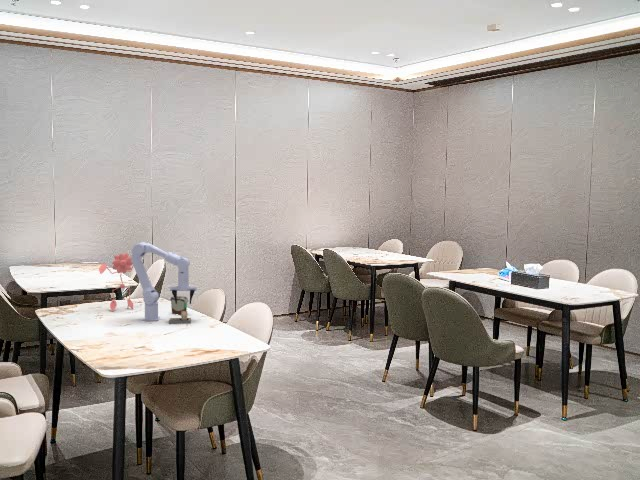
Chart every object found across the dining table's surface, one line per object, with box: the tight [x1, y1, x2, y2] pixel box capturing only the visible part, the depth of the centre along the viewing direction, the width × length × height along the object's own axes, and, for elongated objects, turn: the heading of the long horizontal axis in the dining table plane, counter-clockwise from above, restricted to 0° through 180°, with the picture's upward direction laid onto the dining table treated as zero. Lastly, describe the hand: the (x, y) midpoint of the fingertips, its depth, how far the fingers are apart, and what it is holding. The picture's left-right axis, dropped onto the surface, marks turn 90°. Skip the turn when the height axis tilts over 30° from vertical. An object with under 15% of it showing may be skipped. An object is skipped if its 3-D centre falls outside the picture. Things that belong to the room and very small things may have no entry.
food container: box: [169, 295, 189, 316], centre depth 368 cm, size 12×6×10 cm, turn 58°
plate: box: [168, 317, 192, 325], centre depth 346 cm, size 8×12×2 cm
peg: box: [180, 310, 188, 320], centre depth 346 cm, size 3×3×6 cm
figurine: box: [98, 252, 141, 314], centre depth 372 cm, size 15×26×35 cm, turn 122°
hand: (183, 303), depth 350 cm, fingers open, 7 cm apart
